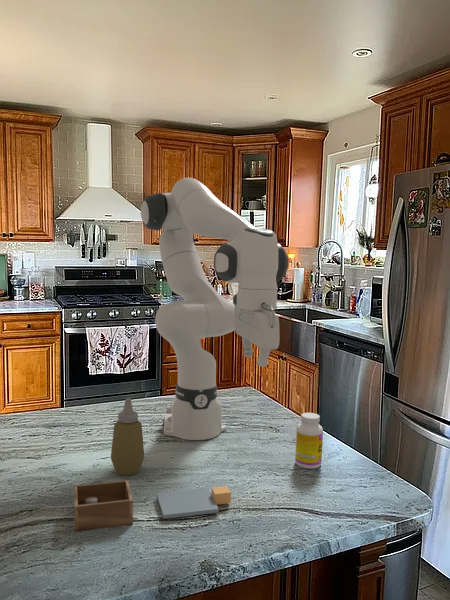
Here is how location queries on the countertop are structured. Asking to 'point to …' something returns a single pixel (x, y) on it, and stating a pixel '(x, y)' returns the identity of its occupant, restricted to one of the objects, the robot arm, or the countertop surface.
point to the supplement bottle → (309, 441)
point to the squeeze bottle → (127, 442)
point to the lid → (192, 501)
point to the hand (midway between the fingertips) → (254, 361)
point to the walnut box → (102, 505)
